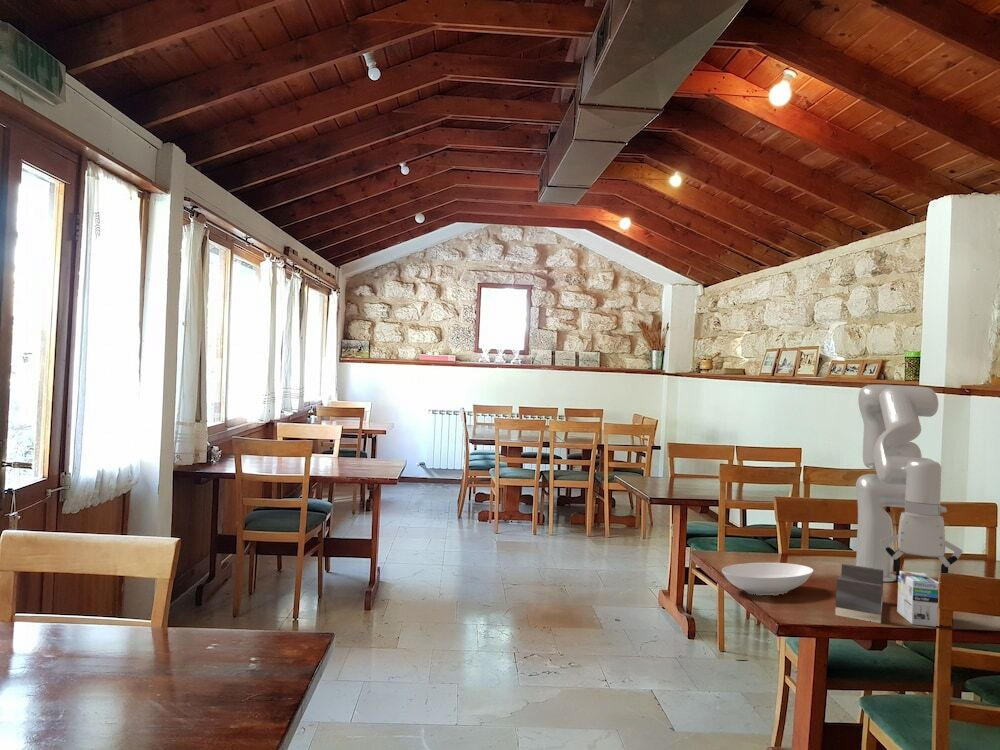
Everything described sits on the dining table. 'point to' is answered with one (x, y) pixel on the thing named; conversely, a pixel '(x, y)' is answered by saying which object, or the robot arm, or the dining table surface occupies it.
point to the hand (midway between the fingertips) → (919, 578)
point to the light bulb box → (917, 598)
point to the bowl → (767, 577)
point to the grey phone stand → (859, 593)
